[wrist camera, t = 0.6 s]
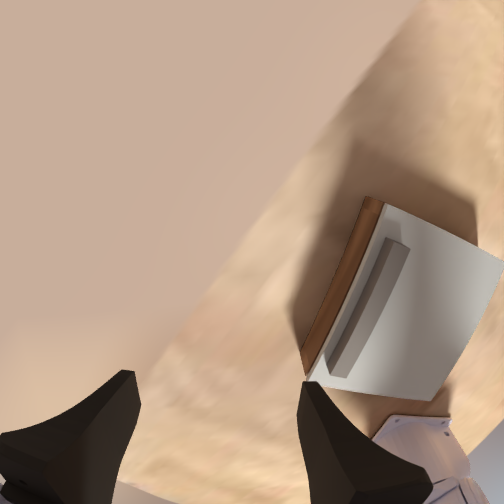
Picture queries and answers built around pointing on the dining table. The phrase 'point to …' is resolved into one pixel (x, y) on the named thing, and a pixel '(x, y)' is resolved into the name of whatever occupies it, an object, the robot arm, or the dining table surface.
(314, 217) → the dining table surface
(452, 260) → the lid
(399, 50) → the dining table surface
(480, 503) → the robot arm
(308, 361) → the box
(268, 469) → the dining table surface
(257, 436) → the dining table surface
